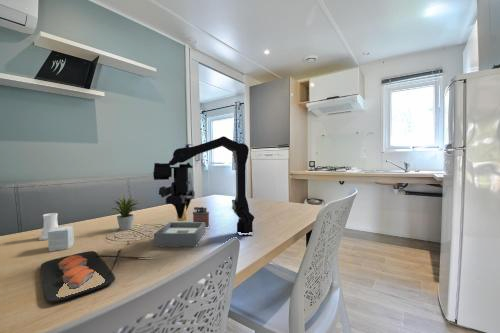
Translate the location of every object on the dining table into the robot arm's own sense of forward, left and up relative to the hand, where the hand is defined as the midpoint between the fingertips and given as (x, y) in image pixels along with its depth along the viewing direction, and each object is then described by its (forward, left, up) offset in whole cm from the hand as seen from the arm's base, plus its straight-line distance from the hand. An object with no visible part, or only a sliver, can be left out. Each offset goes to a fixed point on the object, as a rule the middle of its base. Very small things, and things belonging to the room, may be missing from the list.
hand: (181, 217), depth 96 cm
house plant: (+31, -13, -10) cm, 35 cm away
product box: (+43, +9, -10) cm, 45 cm away
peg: (0, 0, -1) cm, 1 cm away
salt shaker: (+57, -2, -10) cm, 58 cm away
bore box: (0, 0, -9) cm, 9 cm away
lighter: (-4, -17, -10) cm, 20 cm away
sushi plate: (+16, +24, -10) cm, 31 cm away
